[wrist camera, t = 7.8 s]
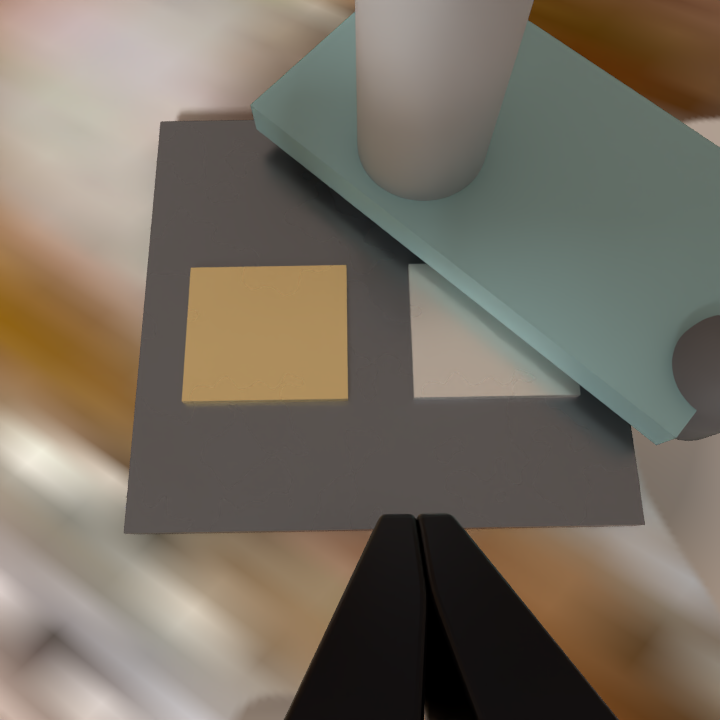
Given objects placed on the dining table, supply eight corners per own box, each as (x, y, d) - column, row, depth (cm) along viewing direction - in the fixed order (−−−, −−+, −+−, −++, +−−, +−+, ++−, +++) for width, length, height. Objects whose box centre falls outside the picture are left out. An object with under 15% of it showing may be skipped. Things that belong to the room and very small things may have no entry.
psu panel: (845, 522, 19) (1006, 512, 14) (135, 534, 19) (59, 528, 14) (754, 129, 23) (855, 19, 18) (169, 139, 23) (118, 32, 18)
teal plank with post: (677, 485, 19) (1034, 410, 9) (262, 154, 23) (179, -172, 12) (821, 291, 21) (1253, 44, 11) (417, 12, 24) (455, -374, 14)
